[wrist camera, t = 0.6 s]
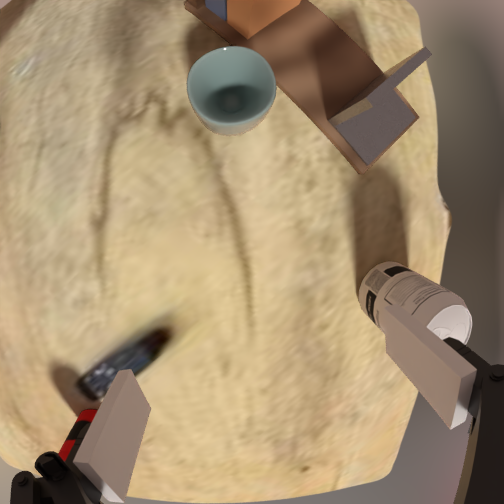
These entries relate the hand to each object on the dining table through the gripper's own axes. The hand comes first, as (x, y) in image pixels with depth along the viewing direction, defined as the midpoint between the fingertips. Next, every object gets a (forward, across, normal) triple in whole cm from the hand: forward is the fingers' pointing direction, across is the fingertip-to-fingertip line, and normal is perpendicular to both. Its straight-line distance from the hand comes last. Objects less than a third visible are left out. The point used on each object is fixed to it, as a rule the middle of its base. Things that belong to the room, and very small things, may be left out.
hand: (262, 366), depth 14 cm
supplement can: (+24, +17, -9) cm, 30 cm away
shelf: (+23, +13, +23) cm, 35 cm away
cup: (+24, +3, +17) cm, 29 cm away
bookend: (+22, +19, +13) cm, 32 cm away
